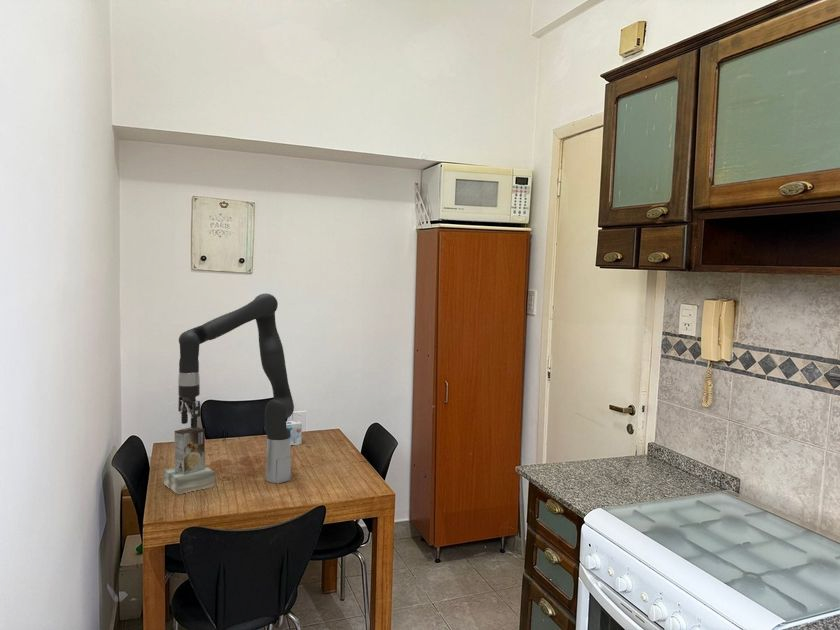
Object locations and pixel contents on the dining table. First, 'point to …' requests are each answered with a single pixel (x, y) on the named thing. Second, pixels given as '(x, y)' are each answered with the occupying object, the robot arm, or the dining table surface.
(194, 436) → the coffee box
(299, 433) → the light bulb box
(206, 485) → the tower base
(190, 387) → the robot arm
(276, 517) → the dining table surface
